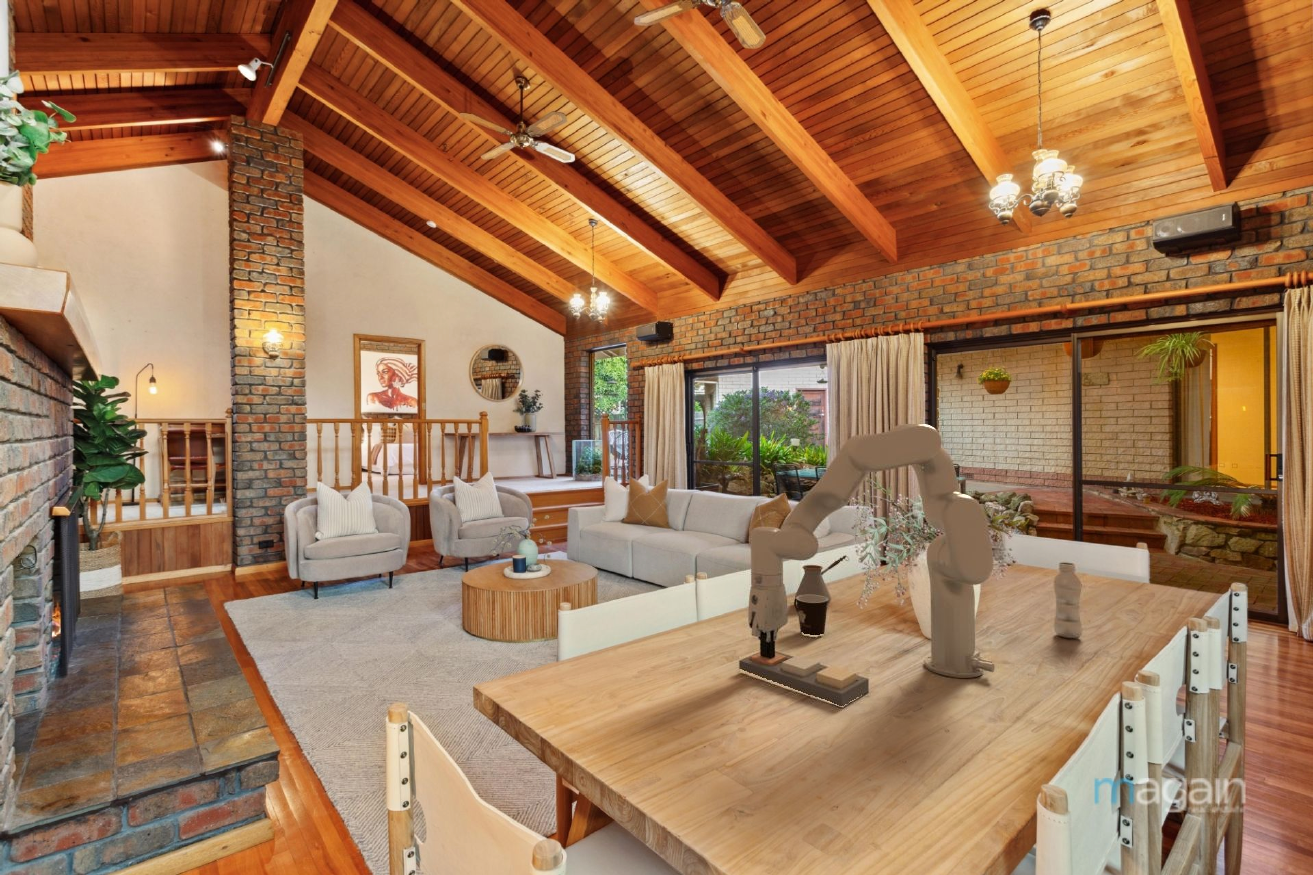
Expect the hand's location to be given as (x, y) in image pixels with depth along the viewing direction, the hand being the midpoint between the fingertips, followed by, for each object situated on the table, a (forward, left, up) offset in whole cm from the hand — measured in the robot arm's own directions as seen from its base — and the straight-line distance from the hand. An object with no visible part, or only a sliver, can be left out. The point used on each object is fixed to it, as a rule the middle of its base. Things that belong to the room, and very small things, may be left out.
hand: (767, 656), depth 148 cm
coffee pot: (+22, -60, -4) cm, 64 cm away
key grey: (-9, 0, -1) cm, 9 cm away
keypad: (-9, 0, -4) cm, 10 cm away
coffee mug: (+9, -32, -4) cm, 34 cm away
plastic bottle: (-43, -76, -4) cm, 88 cm away
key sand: (-18, 0, -1) cm, 18 cm away
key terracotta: (0, 0, -2) cm, 2 cm away
